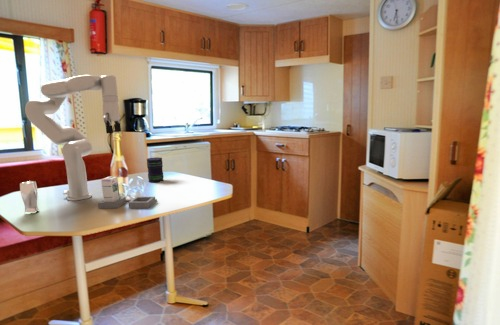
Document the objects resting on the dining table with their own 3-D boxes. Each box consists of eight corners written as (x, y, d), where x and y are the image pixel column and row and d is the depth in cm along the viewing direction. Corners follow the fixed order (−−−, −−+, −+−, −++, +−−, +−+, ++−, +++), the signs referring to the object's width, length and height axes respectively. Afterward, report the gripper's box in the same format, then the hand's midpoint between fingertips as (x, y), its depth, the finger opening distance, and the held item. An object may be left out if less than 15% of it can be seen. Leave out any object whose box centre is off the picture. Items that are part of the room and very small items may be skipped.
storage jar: (167, 180, 235) (165, 158, 232) (155, 183, 226) (154, 160, 224) (156, 178, 240) (154, 157, 237) (145, 181, 232) (143, 159, 229)
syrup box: (114, 207, 178) (111, 178, 176) (103, 206, 180) (100, 178, 177) (120, 203, 184) (117, 176, 181) (110, 203, 185) (107, 176, 182)
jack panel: (98, 208, 177) (97, 202, 177) (109, 201, 189) (109, 195, 189) (148, 208, 175) (147, 202, 174) (156, 201, 187) (156, 195, 186)
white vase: (37, 209, 178) (32, 180, 175) (42, 211, 174) (38, 182, 171) (21, 213, 173) (16, 183, 170) (26, 215, 168) (22, 185, 166)
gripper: (111, 99, 194) (114, 131, 197) (95, 99, 177) (99, 134, 180) (124, 99, 193) (127, 130, 196) (109, 99, 176) (113, 133, 179)
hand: (113, 132), depth 188 cm, fingers open, 9 cm apart
